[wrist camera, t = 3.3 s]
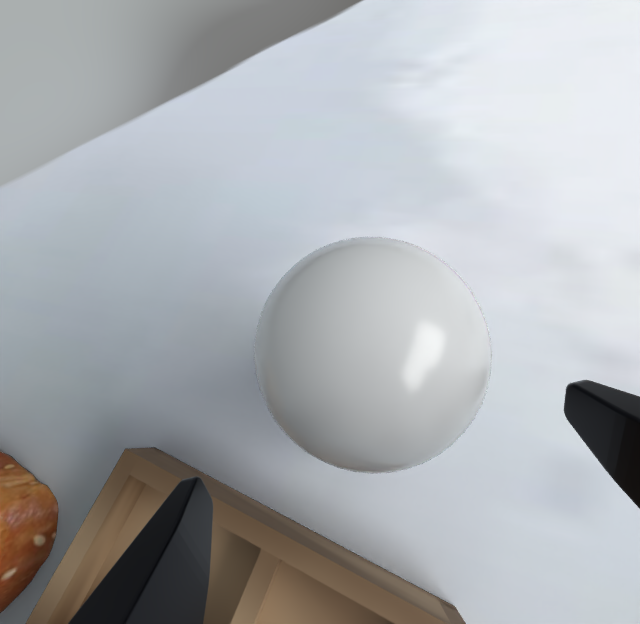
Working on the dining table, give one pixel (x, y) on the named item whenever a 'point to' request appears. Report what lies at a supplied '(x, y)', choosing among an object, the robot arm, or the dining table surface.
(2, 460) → the slice of bread
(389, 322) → the grey rounded cylinder
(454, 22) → the dining table surface
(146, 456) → the caddy
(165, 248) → the dining table surface
